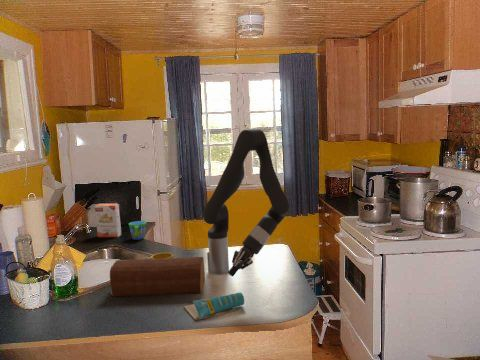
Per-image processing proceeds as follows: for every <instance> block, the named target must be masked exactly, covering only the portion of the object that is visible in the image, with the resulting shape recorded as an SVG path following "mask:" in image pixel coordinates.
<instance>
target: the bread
mask: <svg viewBox="0 0 480 360" xmlns="http://www.w3.org/2000/svg"><path fill="white" fill-rule="evenodd" d="M204 259H205V258H204V257H203V256H192V257H191V256H190V257H173V258H168V259H151V258H144V259H143V258H140V259H135V258H134V259H118V260H115V262H114V263H113V264H112V265H111V267H110V269H109V281H110V293H111V295H112V297H134V296H135V297H136V296H137V297H138V296H140V297H141V296H143V297H144V296H160V295H161V296H162V295H163V296H165V295H169V296H170V295H192V294H201V293H202V292H203V289H204V286H205V283H206V276H205V275H206V274H205V272H206V271H205V261H204Z"/></svg>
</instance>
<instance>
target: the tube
mask: <svg viewBox="0 0 480 360" xmlns="http://www.w3.org/2000/svg"><path fill="white" fill-rule="evenodd" d="M192 303H193V304H194V305H195V308H196V310H197V313H198V315H199V318H203V317H206V316H209V315H211V314H214V313H218V312H221V311H224V310H227V309H231V308H234V309H235V308H237V307H240V306H241V307H242V306H244V304H245V297H244V294H243V292H236V293H229V294H225V295H220V296H215V297H209V298H203V299H199V300H197V299H196V300H192Z"/></svg>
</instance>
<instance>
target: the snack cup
mask: <svg viewBox="0 0 480 360" xmlns="http://www.w3.org/2000/svg"><path fill="white" fill-rule="evenodd" d="M146 225H147V222H146V221H144V220H136V221H131V222H129V223H128V227H129V231H130V235H131V238H132V240H133V241H134V240H136V241H139V240H143V239H144V238H145V237H146Z"/></svg>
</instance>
